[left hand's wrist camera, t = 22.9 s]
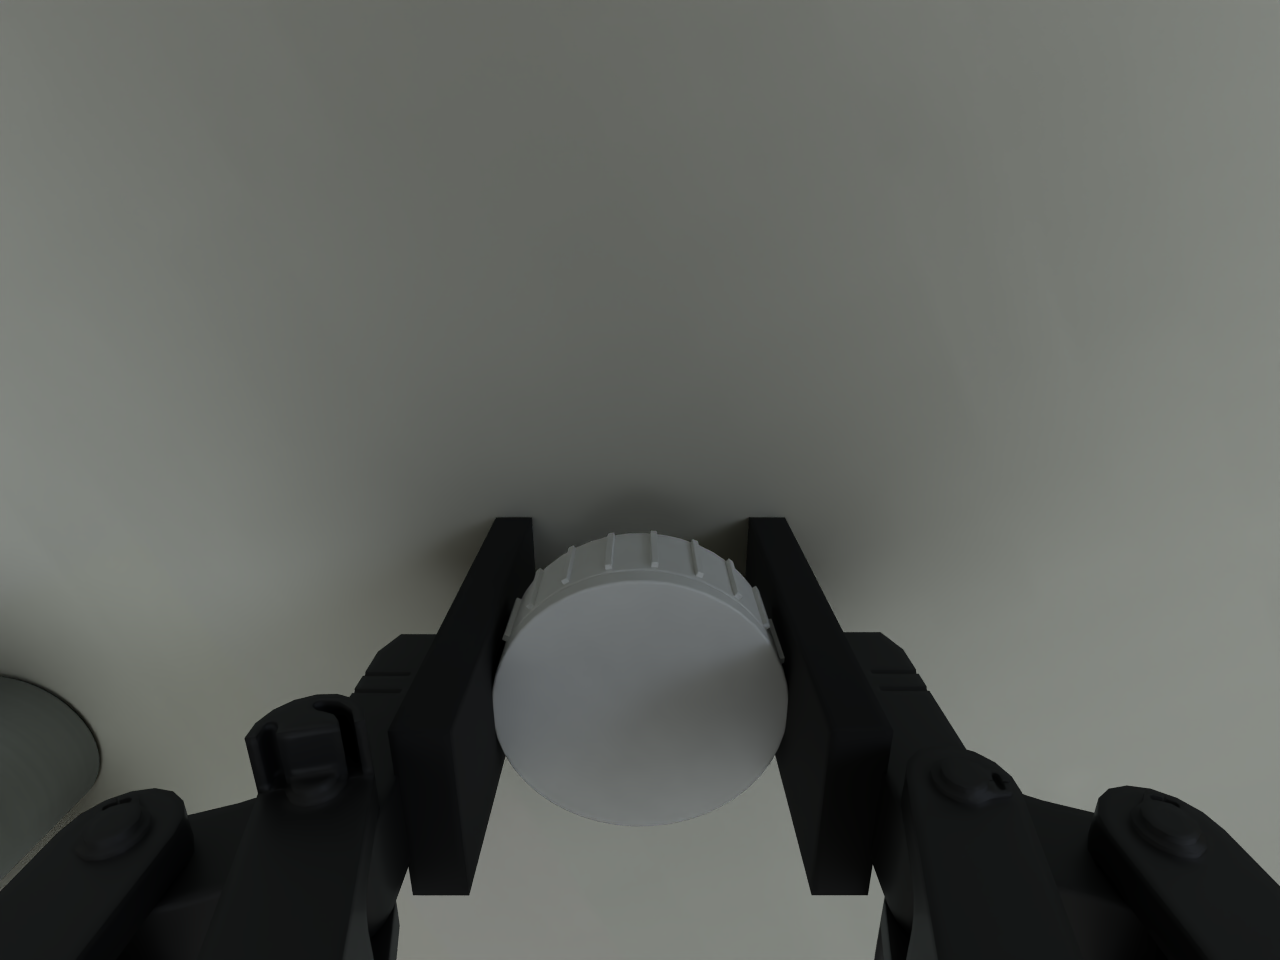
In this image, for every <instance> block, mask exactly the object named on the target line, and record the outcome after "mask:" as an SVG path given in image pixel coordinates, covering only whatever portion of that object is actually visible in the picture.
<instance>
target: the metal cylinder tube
mask: <svg viewBox="0 0 1280 960" xmlns="http://www.w3.org/2000/svg"><path fill="white" fill-rule="evenodd" d="M99 765H100V758H99V751H98V747H97V744H96V741H95V739H94V737H93V735H92V733H91V731H90V730H89V728H88V727H87V725H86V724H85V723H84V721H83V720H82V719H81V718H80V717H79V716H78V714H77V713H76V712H75V711H74V710H72V709H71V708H70V707H69V706H68V705H67V704H65V703H64V702H63V701H61V700H60V699H59V698H57V697H56V696H54V695H52V694H51V693H49V692H47V691H45V690H43V689H41V688H39V687H37V686H35V685H32V684H29V683H27V682H24V681H20V680H17V679H13V678H8V677H3V676H0V881H1V880H2V879H3V878H4V877H5V876H6V875H7V873H8V872H9V871H10V870H11V869H12V868H13V867H14V866H15V865H16V864H17V863H18V862H19V861H20V860H21V859H22V858H23V857H24V856H25V855H26V854H27V853H28V852H29V851H30V850H31V849H32V848H33V847H34V846H35V845H36V844H37V843H38V842H39V841H40V840H41V839H42V838H43V837H44V836H45V835H46V834H47V833H48V832H49V831H50V830H51V829H52V828H53V827H54V826H55V825H56V824H57V823H58V822H59V821H60V820H61V819H62V818H63V817H64V816H65V814H66V813H67V812H68V811H69V810H70V809H71V808H72V807H73V806H74V805H75V804H76V803H77V802H78V801H79V800H80V799H81V798H82V797H83V796H84V795H85V794H86V793H87V792H88V791H89V790H90V788H91V787H92V786H93V784H94V782H95V780H96V778H97V775H98V772H99Z"/></svg>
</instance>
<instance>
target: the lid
mask: <svg viewBox="0 0 1280 960" xmlns="http://www.w3.org/2000/svg"><path fill="white" fill-rule="evenodd" d="M502 640H504V641H506V643H505V646H504V649H503V652H502V655H501V658H500V661H499V664H498V667H497V670H496V673H495V677H494V683H493V688H492V697H493V710H494V720H495V730H496V734H497V738H498V741H499V743H500V745H501V747H502V749H503V752H504V754H505V755H506V757H507V759H508V760H509V762H510V763H511V765H512V766H513V768H514V769H515V770H516V771H517V773H518V774H519V775H520V776H521V777H522V779H523V780H524V781H525V782H526V783H528V784H529V785H530V786H531V787H532V788H533V789H534V790H535V791H536V792H538V793H539V794H540V795H542V796H543V797H545V798H546V799H548V800H549V801H550V802H552V803H554V804H556V805H558V806H559V807H561V808H563V809H565V810H567V811H570V812H572V813H574V814H577V815H579V816H582V817H585V818H588V819H592V820H595V821H599V822H604V823H609V824H615V825H625V826H656V825H664V824H672V823H676V822H680V821H685V820H689V819H692V818H695V817H698V816H701V815H704V814H706V813H708V812H710V811H712V810H715V809H717V808H719V807H721V806H723V805H724V804H726V803H728V802H729V801H731V800H732V799H734V798H736V797H737V796H738V795H740V794H741V793H742V792H743V791H745V790H746V789H747V788H748V787H750V786H751V785H752V784H753V783H754V781H755V780H756V779H757V778H758V777H759V776H760V775H761V774H762V773H763V772H764V770H765V769H766V768H767V766H768V765H769V764H770V762H771V761H772V759H773V757H774V755H775V753H776V752H777V750H778V748H779V746H780V743H781V740H782V738H783V735H784V732H785V728H786V719H787V707H788V685H787V681H786V677H785V673H784V669H783V666H782V664H783V663H784V655H783V652H782V649H781V646H780V643H779V640H778V637H777V634H776V631H775V628H774V625H773V622H772V619H768V617H767V614H766V611H765V608H764V605H763V602H762V599H761V596H760V593H759V590H758V588H757V587H756V586H755V587H753V588H752V587H751V585H750V584H749V583H748V582H747V581H746V580H745V578H744V577H743V576H742V575H741V574H740V573H739V572H738V571H737V570H736V569H735V567H734V563H733V561H731V560H730V559H728V560H727V561H725V560H724V559H723V558H721V557H720V556H718V555H717V554H715V553H714V552H712V551H710V550H708V549H706V548H704V547H702V546H700V545H699V544H698V541H696V540H693V539H692V541H691V542H689V541H686V540H683V539H681V538H676V537H671V536H667V535H661V534H657V531H650V533H627V534H620V535H614V532H613V533H608V536H607V537H604V538H601V539H597V540H593V541H590V542H588V543H586V544H583V545H581V546H578V547H576V548H575V546H574V545H573V546H571V547H569V548H568V552H567V553H565V554H564V555H562V556H560V557H559V558H558V559H556V560H555V561H554V562H552V563H551V564H550V565H548V566H547V567H546V568H545V569H544V570H542V569H541V568H539V569H538V570H537V571H536V574H535V578H534V581H533V582H532V583H531V585H530V586H529V587H528V589H527V590H526V592H525V593H524V595H523V597H522V599H520V598H517V599H516V601H515V603H514V606H513V609H512V612H511V615H510V618H509V621H508V624H507V627H506V630H505V632H504V635H503V638H502Z"/></svg>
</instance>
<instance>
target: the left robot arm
mask: <svg viewBox="0 0 1280 960" xmlns="http://www.w3.org/2000/svg"><path fill="white" fill-rule="evenodd" d="M534 578H535V562H534V546H533V529H532V518H496V519H495V521H494V523H493V525H492V527H491V529H490V531H489V533H488V534H487V536H486V538H485V540H484V542H483V544H482V546H481V548H480V550H479V552H478V554H477V556H476V558H475V560H474V562H473V564H472V566H471V568H470V570H469V572H468V574H467V576H466V578H465V580H464V582H463V584H462V586H461V587H460V589H459V591H458V593H457V595H456V597H455V599H454V601H453V603H452V605H451V607H450V609H449V611H448V613H447V615H446V617H445V619H444V621H443V623H442V625H441V627H440V629H439V631H438V633H437V634H401V635H399V636H398V637H397V638H396V639H394V640H393V641H392V642H390V643H389V644H388V645H386V646H385V647H384V648H382V649H381V650H380V651H378V653H377V654H376V656H375V657H374V659H373V661H372V662H371V664H370V665H369V667H368V669H367V670H366V672H365V676H363V677H362V678H361V680H360V681H359V683H358V684H357V686H356V688H355V692H354V693H352V694H351V696H350V697H346V696H343V695H339V694H319V695H313V696H309V697H305V698H301V699H297V700H293V701H291V702H289V703H287V704H285V705H283V706H280V707H278V708H276V709H274V710H272V711H271V712H270V713H268V714H267V715H266V716H264V717H263V718H262V719H260V720H259V721H258V722H256V723H255V725H254V726H253V727H252V729H251V730H250V731H249V733H248V734H247V736H246V737H245V742H246V746H247V750H248V754H249V758H250V762H251V766H252V770H253V774H254V779H255V783H256V787H257V791H258V795H257V798H254V799H251V800H247V801H244V802H241V803H238V804H233V805H229V806H225V807H221V808H217V809H212V810H208V811H204V812H200V813H196V814H191V815H187V812H186V809H185V805H184V802H183V800H182V799H181V798H180V797H179V796H177V795H176V794H175V793H174V792H173V791H168V790H162V789H157V788H153V789H146V790H138V791H131V792H128V793H126V794H123V795H120V796H117V797H114V798H111V799H108V800H105V801H104V802H102V803H100V804H98V805H96V806H95V807H93V808H91V809H89V810H87V811H86V812H84V813H82V814H80V815H79V816H78V817H76V818H75V819H74V820H73V821H71V822H70V823H69V824H68V825H67V826H65V827H64V828H63V829H62V830H61V831H59V832H58V833H57V834H56V835H55V836H54V837H53V838H52V839H51V840H50V841H49V842H48V843H47V844H46V845H45V846H44V847H43V848H42V849H41V850H40V851H39V852H38V854H37V855H36V856H35V857H34V858H33V859H32V860H31V861H30V862H29V863H28V864H27V865H26V866H25V867H24V868H23V869H22V870H21V871H20V872H19V873H18V874H17V875H16V876H15V877H14V878H13V879H12V880H11V881H10V882H9V883H8V884H7V885H6V886H5V887H4V888H3V889H2V890H1V891H0V960H396V958H397V947H398V937H399V926H400V925H399V917H398V910H397V904H396V899H397V896H398V894H399V891H400V888H401V885H402V883H403V880H404V877H405V874H406V872H407V869H408V866H409V873H410V879H411V885H412V892H413V895H469V894H470V890H471V886H472V882H473V878H474V875H475V871H476V867H477V863H478V859H479V855H480V852H481V848H482V844H483V840H484V836H485V832H486V828H487V825H488V821H489V817H490V813H491V809H492V805H493V802H494V798H495V794H496V790H497V786H498V782H499V778H500V775H501V771H502V767H503V763H504V759H505V754H504V752H503V749H502V747H501V745H500V743H499V741H498V738H497V734H496V730H495V720H494V710H493V697H492V688H493V683H494V677H495V673H496V670H497V667H498V664H499V661H500V658H501V655H502V652H503V649H504V646H505V643H506V641H504V640H502V638H503V635H504V632H505V630H506V627H507V624H508V621H509V618H510V615H511V612H512V609H513V606H514V603H515V601H516V599H517V598H520V599H522V597H523V595H524V593H525V592H526V590H527V589H528V587H529V586H530V585H531V583H532V582H533V581H534ZM745 580H746V581H747V582H748V583H749V584H750V585H751V587H752V588H753V587H755V586H756V587H757V588H758V590H759V593H760V596H761V599H762V602H763V605H764V608H765V611H766V614H767V617H768V619H772V622H773V625H774V628H775V631H776V634H777V637H778V640H779V643H780V646H781V649H782V652H783V655H784V663H783V664H782V666H783V669H784V673H785V677H786V681H787V685H788V707H787V719H786V728H785V732H784V735H783V738H782V740H781V743H780V746H779V748H778V750H777V752H776V753H775V756H776V760H777V763H778V767H779V771H780V775H781V779H782V783H783V787H784V790H785V794H786V798H787V802H788V806H789V810H790V813H791V817H792V821H793V825H794V829H795V833H796V837H797V840H798V844H799V848H800V852H801V856H802V860H803V864H804V867H805V871H806V875H807V879H808V883H809V887H810V890H811V894H812V895H868V891H869V884H870V878H871V872H872V865H873V866H874V869H875V871H876V874H877V877H878V880H879V882H880V885H881V888H882V890H883V893H884V896H885V898H884V904H883V910H882V916H881V922H880V928H879V934H878V939H877V945H876V952H875V959H874V960H1280V886H1279V885H1278V884H1277V883H1276V882H1275V881H1274V880H1273V879H1272V878H1271V877H1270V876H1269V875H1268V874H1267V873H1266V872H1265V871H1264V870H1263V869H1262V868H1261V867H1260V866H1259V865H1258V864H1257V863H1256V861H1255V860H1254V859H1253V858H1252V857H1251V856H1250V855H1249V854H1248V853H1247V852H1246V851H1245V850H1244V849H1243V848H1242V847H1241V846H1240V845H1239V844H1238V843H1237V842H1236V841H1235V840H1234V839H1233V838H1232V837H1231V836H1230V835H1229V834H1228V833H1227V832H1226V831H1225V830H1224V829H1223V828H1221V827H1220V826H1219V825H1218V824H1217V823H1215V822H1214V821H1213V820H1212V819H1210V818H1209V817H1208V816H1207V815H1206V814H1204V813H1203V812H1201V811H1200V810H1198V809H1196V808H1194V807H1192V806H1191V805H1189V804H1187V803H1185V802H1183V801H1182V800H1180V799H1178V798H1176V797H1173V796H1170V795H1167V794H1164V793H1161V792H1158V791H1156V790H1153V789H1149V788H1141V787H1134V786H1122V787H1116V788H1111V789H1108V790H1107V791H1106V792H1105V793H1104V794H1103V795H1102V796H1100V797H1099V799H1098V802H1097V805H1096V809H1095V812H1094V813H1093V812H1089V811H1084V810H1080V809H1076V808H1072V807H1068V806H1063V805H1059V804H1055V803H1051V802H1046V801H1043V800H1039V799H1036V798H1033V797H1030V796H1027V795H1024V794H1022V792H1021V790H1020V789H1019V787H1018V786H1017V784H1016V783H1015V781H1014V779H1013V778H1012V776H1010V775H1009V774H1008V773H1007V772H1006V771H1004V770H1003V769H1002V768H1001V767H1000V766H999V765H997V764H996V763H995V762H993V761H991V760H989V759H987V758H985V757H984V756H982V755H980V754H978V753H976V752H973V751H970V750H966V748H965V747H964V745H963V743H962V742H961V740H960V739H959V737H958V735H957V734H956V732H955V731H954V729H953V728H952V726H951V724H950V723H949V721H948V720H947V718H946V716H945V715H944V713H943V712H942V710H941V709H940V707H939V705H938V704H937V702H936V701H935V699H934V698H933V696H932V694H931V693H930V691H927V686H926V685H925V683H924V682H923V680H922V679H921V677H920V675H919V674H916V669H915V667H914V666H913V664H912V663H911V661H910V660H909V658H908V656H907V655H906V653H905V652H904V650H903V649H902V648H900V647H899V646H898V645H896V644H895V643H894V642H893V641H891V640H890V639H889V638H887V637H886V636H885V635H883V634H882V633H881V632H843V631H842V629H841V627H840V625H839V623H838V621H837V619H836V617H835V615H834V613H833V611H832V609H831V607H830V605H829V603H828V601H827V599H826V597H825V595H824V593H823V591H822V589H821V587H820V586H819V584H818V582H817V580H816V578H815V576H814V574H813V572H812V570H811V568H810V566H809V564H808V562H807V560H806V558H805V556H804V554H803V552H802V550H801V548H800V546H799V544H798V542H797V540H796V538H795V536H794V534H793V532H792V531H791V529H790V527H789V525H788V523H787V521H786V519H785V518H749V529H748V545H747V562H746V579H745Z"/></svg>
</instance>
